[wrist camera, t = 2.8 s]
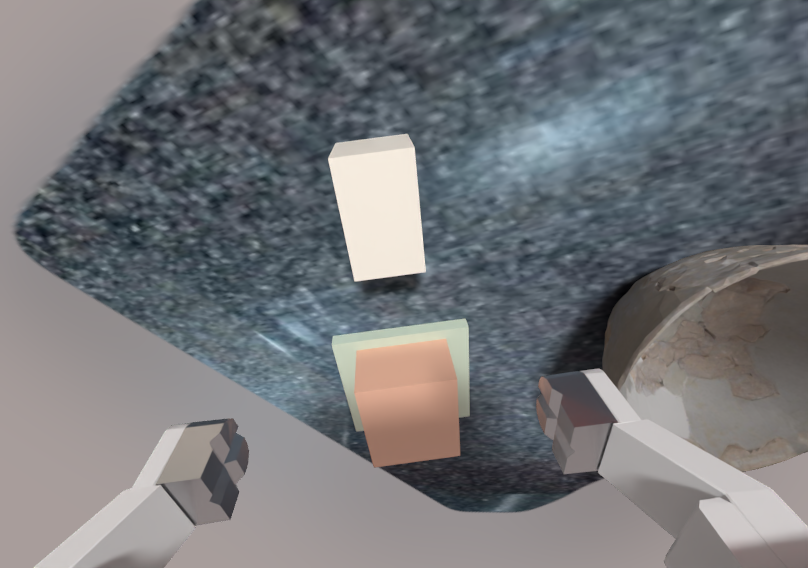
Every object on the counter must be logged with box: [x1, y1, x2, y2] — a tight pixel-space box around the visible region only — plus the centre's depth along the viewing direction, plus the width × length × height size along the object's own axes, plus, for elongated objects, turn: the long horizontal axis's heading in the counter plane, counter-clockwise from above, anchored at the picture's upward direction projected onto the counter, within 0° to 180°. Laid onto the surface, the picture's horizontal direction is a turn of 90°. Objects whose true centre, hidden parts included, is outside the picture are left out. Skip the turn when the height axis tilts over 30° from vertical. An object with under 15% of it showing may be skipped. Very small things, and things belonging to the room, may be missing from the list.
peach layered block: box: [332, 319, 470, 467], centre depth 32 cm, size 12×12×6 cm
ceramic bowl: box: [602, 245, 808, 472], centre depth 29 cm, size 22×23×10 cm
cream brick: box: [328, 134, 426, 281], centre depth 24 cm, size 8×5×5 cm, turn 6°
